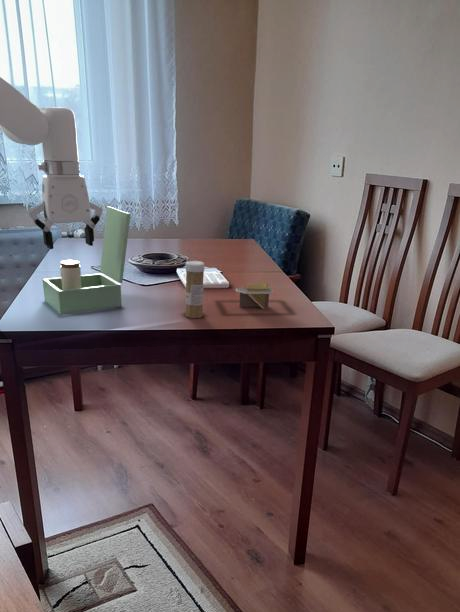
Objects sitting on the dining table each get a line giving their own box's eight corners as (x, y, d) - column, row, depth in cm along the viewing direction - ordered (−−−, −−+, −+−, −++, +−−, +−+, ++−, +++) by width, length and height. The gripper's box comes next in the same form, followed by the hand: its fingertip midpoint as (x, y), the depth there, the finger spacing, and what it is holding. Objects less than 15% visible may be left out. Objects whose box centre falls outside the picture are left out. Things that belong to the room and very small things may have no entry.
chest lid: (127, 213, 132) (130, 213, 133) (106, 206, 142) (110, 206, 142) (119, 282, 138) (122, 283, 139) (100, 271, 148) (103, 271, 148)
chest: (60, 317, 134) (58, 291, 131) (45, 303, 143) (42, 278, 140) (121, 309, 142) (120, 284, 139) (103, 296, 151) (101, 273, 148)
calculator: (185, 289, 162) (185, 282, 161) (175, 272, 179) (175, 266, 178) (230, 288, 165) (230, 282, 164) (216, 272, 182) (216, 266, 181)
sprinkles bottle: (184, 313, 141) (184, 260, 135) (202, 313, 142) (203, 260, 136) (186, 319, 137) (186, 264, 131) (204, 318, 138) (205, 264, 132)
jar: (67, 309, 137) (63, 265, 132) (61, 304, 140) (56, 260, 135) (86, 307, 139) (82, 263, 134) (79, 302, 142) (76, 259, 137)
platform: (292, 314, 144) (295, 290, 141) (225, 315, 141) (226, 290, 138) (280, 301, 155) (283, 278, 152) (217, 302, 152) (218, 278, 149)
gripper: (28, 171, 118) (38, 252, 126) (105, 170, 127) (110, 246, 135) (18, 168, 124) (29, 246, 131) (93, 167, 132) (98, 240, 140)
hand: (70, 246), depth 133 cm, fingers open, 9 cm apart
